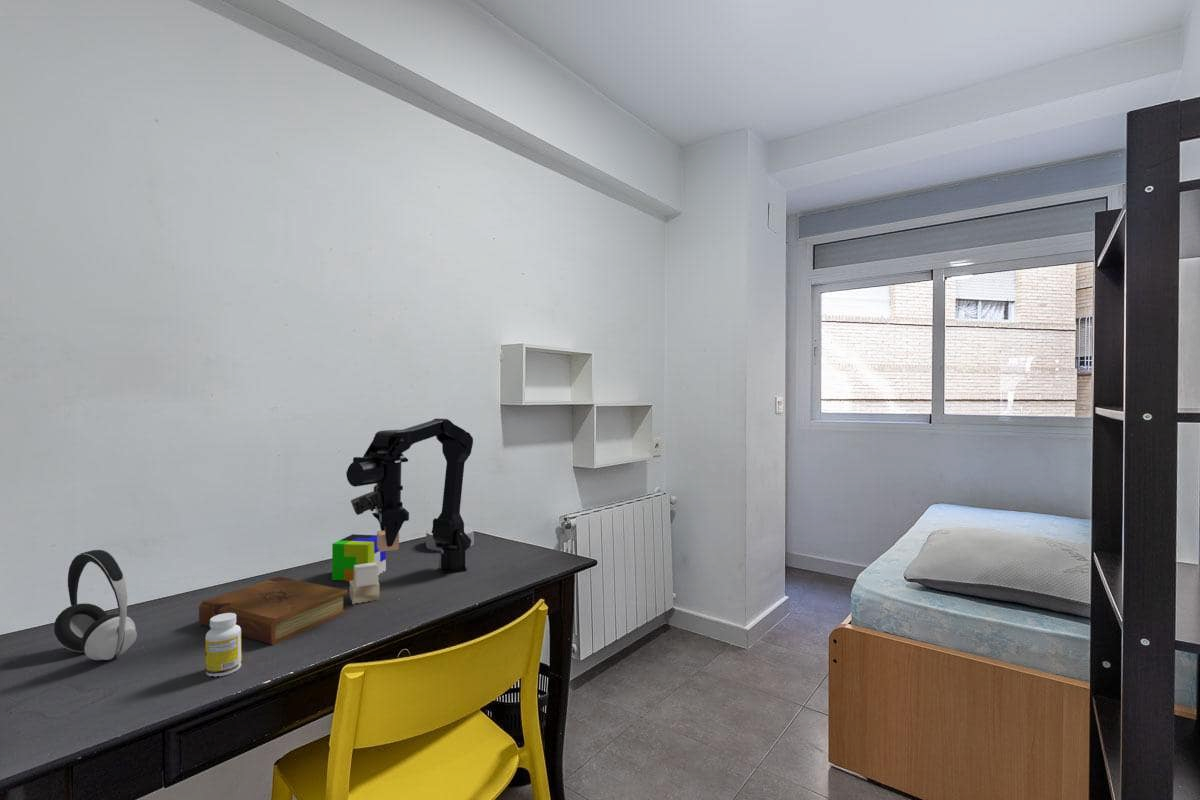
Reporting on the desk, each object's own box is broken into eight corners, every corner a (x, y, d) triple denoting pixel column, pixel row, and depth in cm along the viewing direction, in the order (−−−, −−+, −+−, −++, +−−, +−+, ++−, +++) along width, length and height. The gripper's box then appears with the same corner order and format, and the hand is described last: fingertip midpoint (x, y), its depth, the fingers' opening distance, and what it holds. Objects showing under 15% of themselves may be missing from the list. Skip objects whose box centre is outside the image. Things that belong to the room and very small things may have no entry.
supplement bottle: (216, 663, 104) (216, 611, 104) (247, 662, 105) (247, 610, 104) (198, 678, 99) (198, 623, 99) (230, 677, 99) (230, 622, 99)
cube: (395, 545, 142) (395, 529, 142) (398, 549, 138) (399, 533, 138) (376, 547, 140) (377, 531, 140) (379, 551, 136) (380, 535, 136)
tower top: (375, 577, 141) (375, 562, 141) (378, 583, 137) (378, 567, 137) (353, 581, 139) (353, 565, 139) (356, 587, 134) (356, 570, 134)
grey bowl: (453, 537, 197) (453, 522, 197) (483, 544, 188) (483, 529, 188) (416, 546, 184) (416, 531, 184) (446, 554, 175) (446, 538, 175)
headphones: (149, 655, 107) (149, 551, 107) (94, 675, 99) (94, 563, 99) (96, 636, 115) (96, 539, 115) (42, 653, 107) (41, 550, 107)
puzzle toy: (385, 570, 159) (385, 535, 159) (367, 582, 149) (367, 545, 149) (352, 569, 160) (352, 534, 160) (332, 580, 150) (332, 543, 150)
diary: (199, 628, 121) (198, 602, 121) (279, 599, 138) (278, 576, 138) (271, 648, 112) (271, 619, 112) (347, 614, 129) (347, 589, 129)
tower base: (375, 592, 142) (375, 577, 142) (379, 600, 137) (379, 584, 137) (349, 597, 139) (349, 581, 139) (352, 605, 134) (352, 588, 134)
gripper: (348, 478, 143) (347, 539, 143) (359, 489, 127) (358, 557, 127) (394, 476, 148) (393, 534, 148) (410, 485, 132) (408, 551, 132)
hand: (387, 544), depth 139 cm, fingers closed on cube, 4 cm apart
